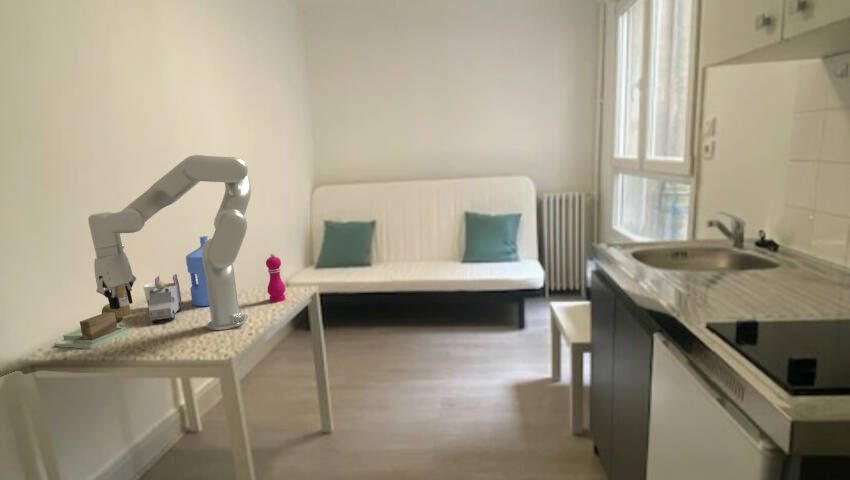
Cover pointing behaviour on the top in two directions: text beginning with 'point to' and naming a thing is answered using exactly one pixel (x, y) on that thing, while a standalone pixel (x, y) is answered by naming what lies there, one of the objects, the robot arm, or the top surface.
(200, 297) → the water jug
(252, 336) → the top surface
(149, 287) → the white cup
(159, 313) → the toy vehicle
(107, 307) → the apple
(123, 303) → the sprinkles bottle
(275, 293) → the pepper mill
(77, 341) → the jig
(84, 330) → the brown cuboid brick
